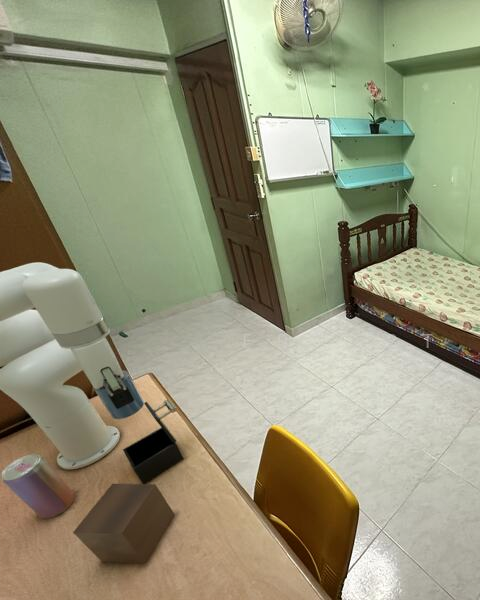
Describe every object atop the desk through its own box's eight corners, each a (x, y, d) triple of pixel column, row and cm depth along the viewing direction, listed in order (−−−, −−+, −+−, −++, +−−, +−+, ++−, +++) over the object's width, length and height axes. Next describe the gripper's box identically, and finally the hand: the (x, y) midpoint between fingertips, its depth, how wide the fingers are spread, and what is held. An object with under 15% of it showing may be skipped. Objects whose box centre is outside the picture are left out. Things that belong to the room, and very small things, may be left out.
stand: (102, 562, 63) (72, 532, 57) (135, 513, 71) (112, 483, 65) (146, 563, 63) (121, 533, 57) (174, 514, 71) (155, 484, 65)
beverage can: (53, 522, 69) (13, 483, 62) (32, 516, 70) (-10, 477, 63) (82, 495, 74) (49, 456, 67) (62, 489, 75) (27, 450, 68)
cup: (104, 414, 70) (85, 385, 66) (132, 395, 75) (116, 367, 71) (122, 422, 68) (104, 392, 64) (150, 402, 73) (134, 374, 69)
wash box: (143, 485, 76) (133, 469, 73) (133, 465, 81) (122, 449, 78) (184, 458, 83) (175, 443, 79) (172, 441, 87) (163, 425, 84)
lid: (155, 420, 74) (176, 407, 76) (143, 403, 78) (163, 391, 81) (174, 443, 79) (192, 430, 82) (162, 425, 83) (180, 414, 86)
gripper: (47, 323, 63) (89, 388, 72) (65, 359, 54) (110, 428, 63) (95, 309, 68) (129, 371, 77) (119, 339, 59) (154, 405, 68)
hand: (120, 396), depth 70 cm, fingers closed on cup, 6 cm apart
